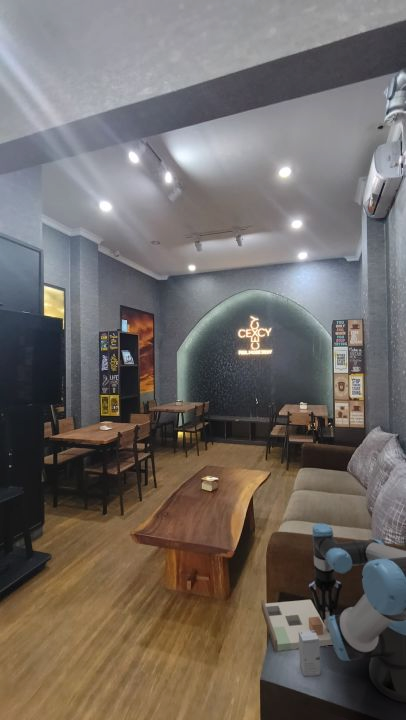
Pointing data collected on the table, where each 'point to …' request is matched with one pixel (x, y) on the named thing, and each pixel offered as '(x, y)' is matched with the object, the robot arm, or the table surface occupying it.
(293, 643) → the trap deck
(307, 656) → the skincare box
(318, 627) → the block
